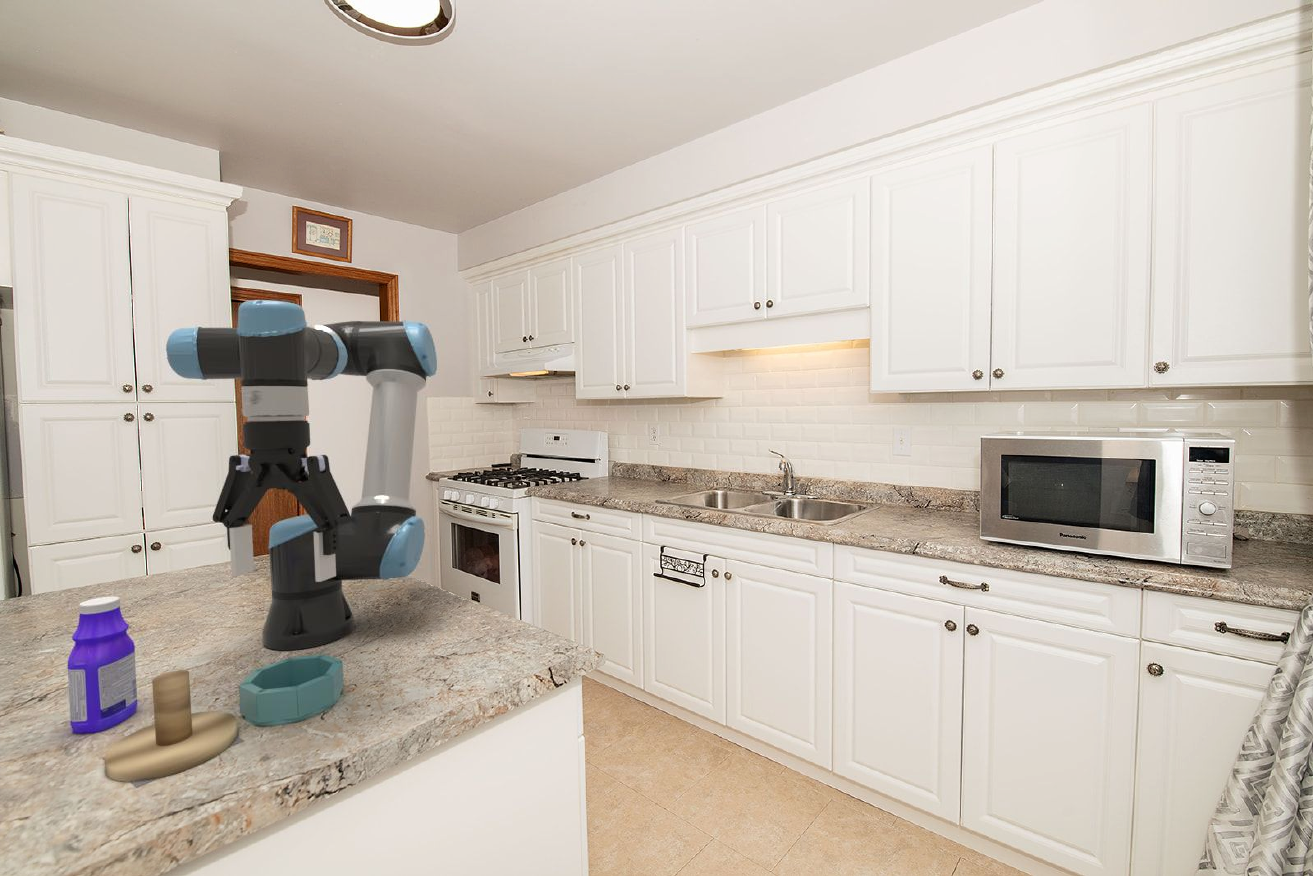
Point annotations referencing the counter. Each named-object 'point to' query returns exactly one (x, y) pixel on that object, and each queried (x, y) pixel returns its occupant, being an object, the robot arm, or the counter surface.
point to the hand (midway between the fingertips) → (283, 576)
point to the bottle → (101, 668)
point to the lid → (171, 735)
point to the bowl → (291, 690)
